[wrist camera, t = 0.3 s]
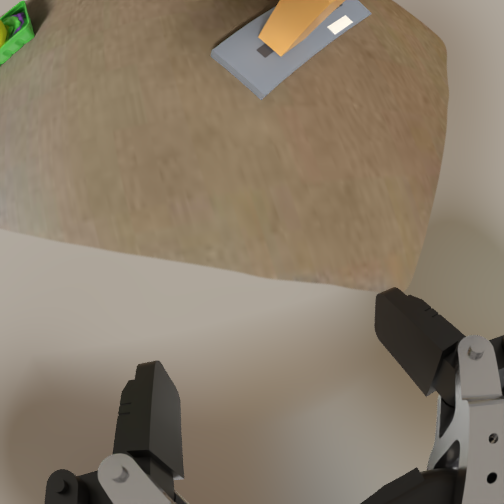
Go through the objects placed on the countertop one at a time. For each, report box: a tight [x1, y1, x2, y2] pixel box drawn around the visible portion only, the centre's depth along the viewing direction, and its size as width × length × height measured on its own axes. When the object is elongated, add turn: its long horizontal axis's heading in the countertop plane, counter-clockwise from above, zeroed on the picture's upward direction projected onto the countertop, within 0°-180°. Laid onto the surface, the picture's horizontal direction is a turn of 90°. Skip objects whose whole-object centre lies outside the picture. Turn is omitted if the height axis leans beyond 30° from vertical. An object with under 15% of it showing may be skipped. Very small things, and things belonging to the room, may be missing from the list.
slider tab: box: [258, 0, 345, 57], centre depth 21 cm, size 5×4×14 cm
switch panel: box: [211, 0, 371, 100], centre depth 29 cm, size 26×9×2 cm, turn 136°
